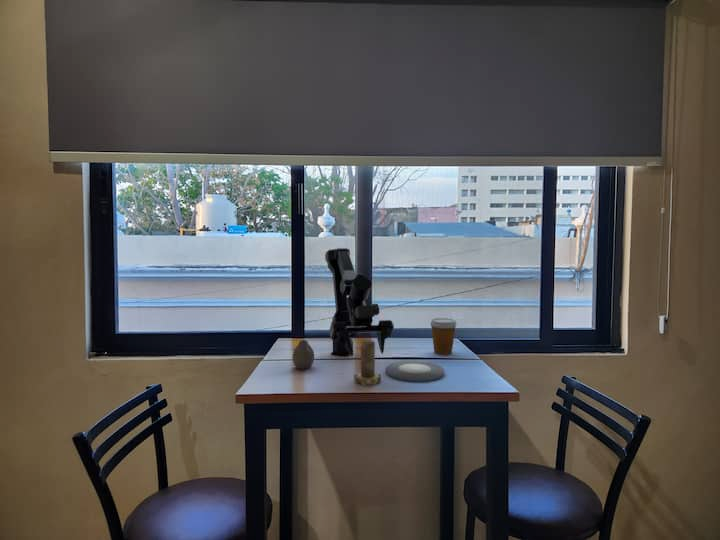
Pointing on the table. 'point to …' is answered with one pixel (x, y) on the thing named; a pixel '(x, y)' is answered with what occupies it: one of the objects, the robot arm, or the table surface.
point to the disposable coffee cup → (443, 335)
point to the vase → (303, 355)
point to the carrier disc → (415, 371)
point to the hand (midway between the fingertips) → (367, 353)
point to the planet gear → (367, 365)
